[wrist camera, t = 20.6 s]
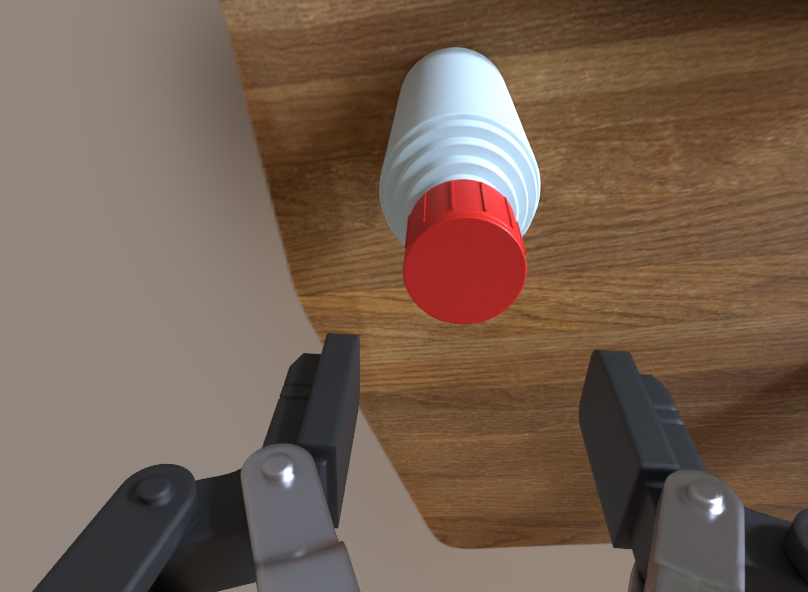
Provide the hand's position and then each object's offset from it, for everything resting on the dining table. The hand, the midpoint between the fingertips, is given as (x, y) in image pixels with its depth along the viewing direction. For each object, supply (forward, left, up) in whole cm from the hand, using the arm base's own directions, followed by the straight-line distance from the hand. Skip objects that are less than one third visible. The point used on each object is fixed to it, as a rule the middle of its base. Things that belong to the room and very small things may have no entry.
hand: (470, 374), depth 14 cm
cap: (0, 0, -8) cm, 8 cm away
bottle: (0, 0, -26) cm, 26 cm away
